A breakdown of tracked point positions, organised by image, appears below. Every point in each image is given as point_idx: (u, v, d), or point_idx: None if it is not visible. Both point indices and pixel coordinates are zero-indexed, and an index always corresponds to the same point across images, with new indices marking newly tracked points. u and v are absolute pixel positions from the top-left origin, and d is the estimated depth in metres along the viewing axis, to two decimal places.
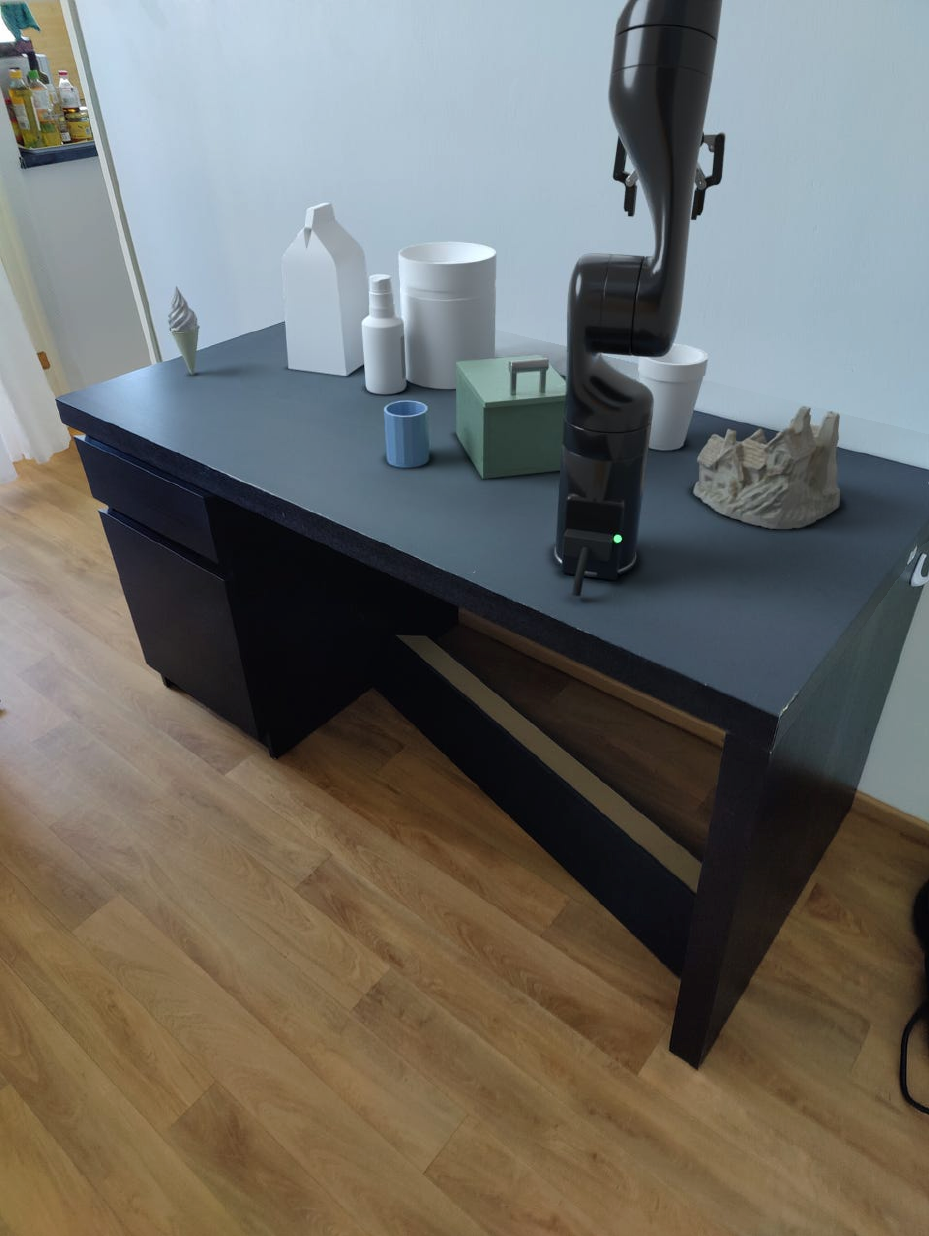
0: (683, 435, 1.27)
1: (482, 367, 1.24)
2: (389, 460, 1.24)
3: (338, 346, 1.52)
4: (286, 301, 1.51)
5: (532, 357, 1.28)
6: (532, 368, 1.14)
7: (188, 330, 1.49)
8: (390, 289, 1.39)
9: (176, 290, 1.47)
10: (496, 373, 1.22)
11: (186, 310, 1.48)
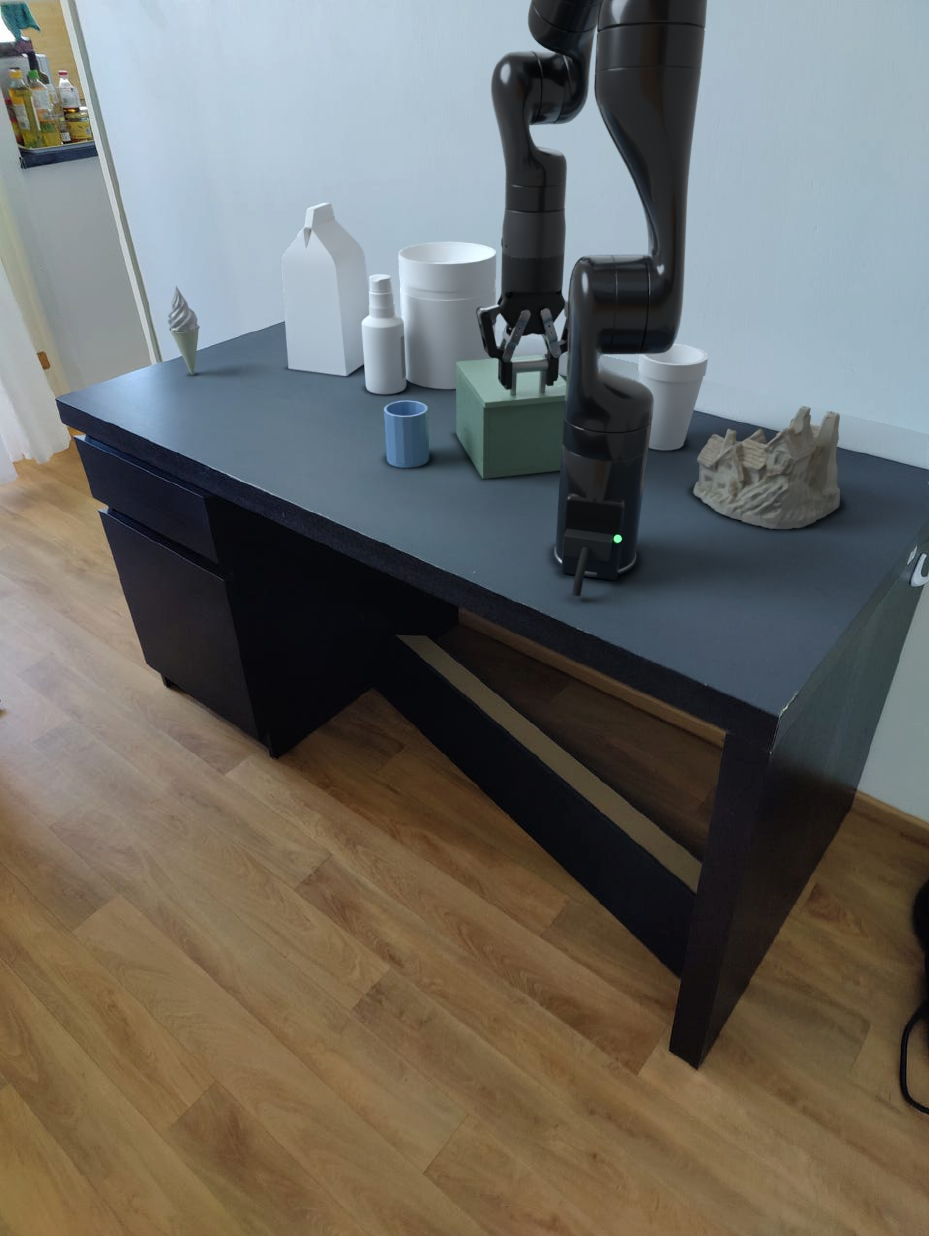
0: (683, 435, 1.27)
1: (482, 367, 1.24)
2: (389, 460, 1.24)
3: (338, 346, 1.52)
4: (286, 301, 1.51)
5: (532, 357, 1.28)
6: (532, 368, 1.14)
7: (188, 330, 1.49)
8: (390, 289, 1.39)
9: (176, 290, 1.47)
10: (496, 373, 1.22)
11: (186, 310, 1.48)
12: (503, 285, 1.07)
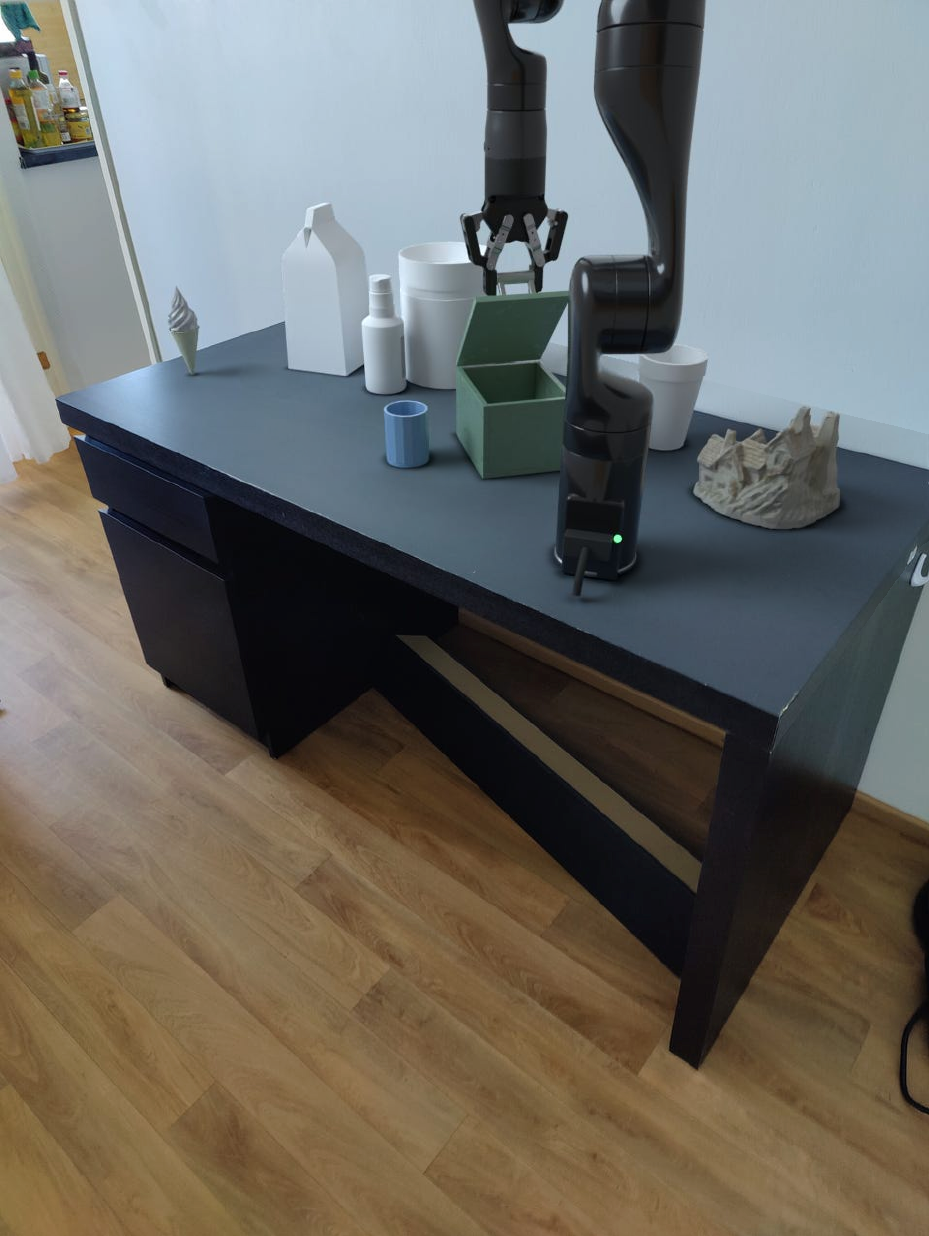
0: (683, 435, 1.27)
1: None
2: (389, 460, 1.24)
3: (338, 346, 1.52)
4: (286, 301, 1.51)
5: None
6: (518, 274, 1.14)
7: (188, 330, 1.49)
8: (390, 289, 1.39)
9: (176, 290, 1.47)
10: None
11: (186, 310, 1.48)
12: (486, 190, 1.09)
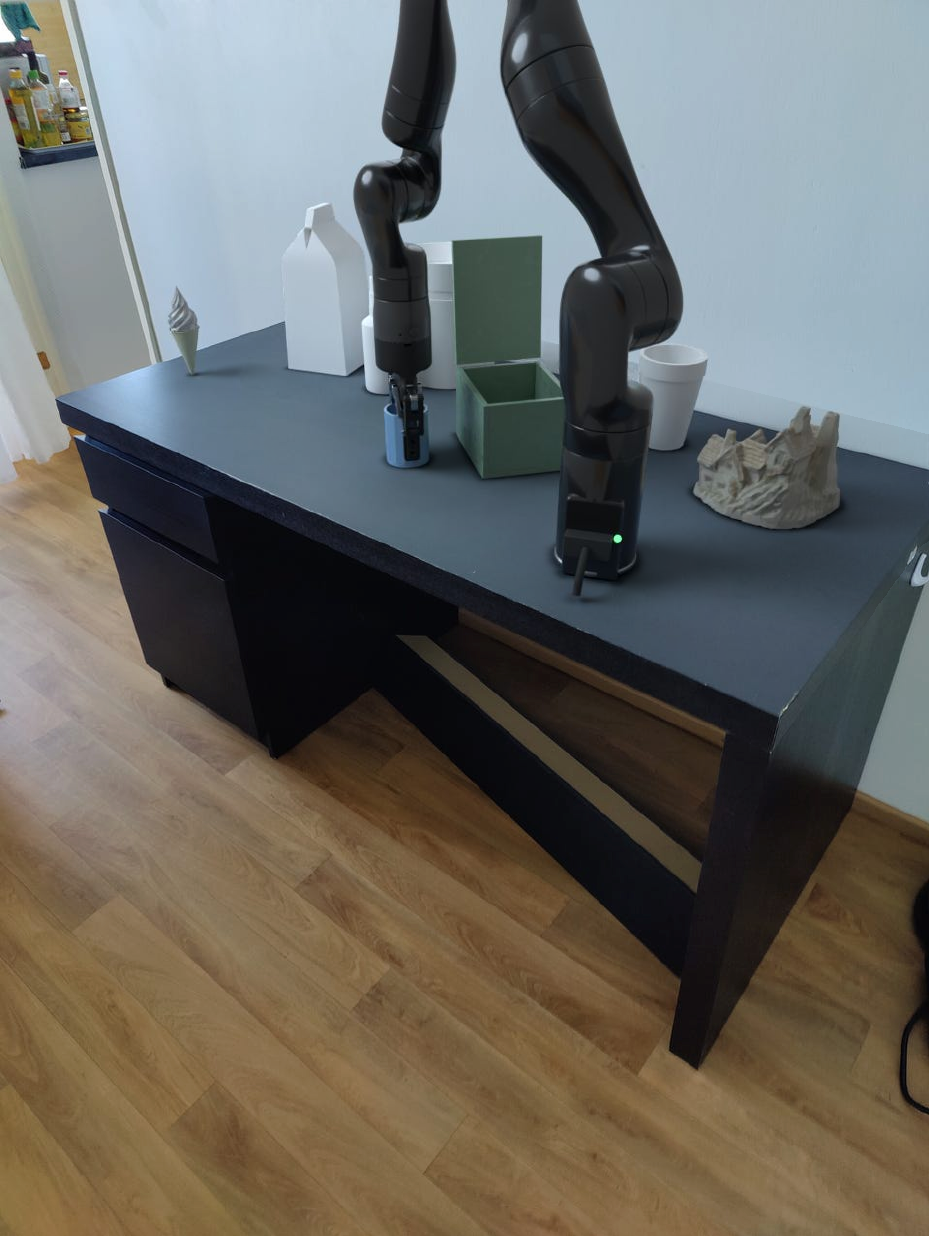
0: (683, 435, 1.27)
1: None
2: (389, 460, 1.24)
3: (338, 346, 1.52)
4: (286, 301, 1.51)
5: None
6: None
7: (188, 330, 1.49)
8: None
9: (176, 290, 1.47)
10: None
11: (186, 310, 1.48)
12: None
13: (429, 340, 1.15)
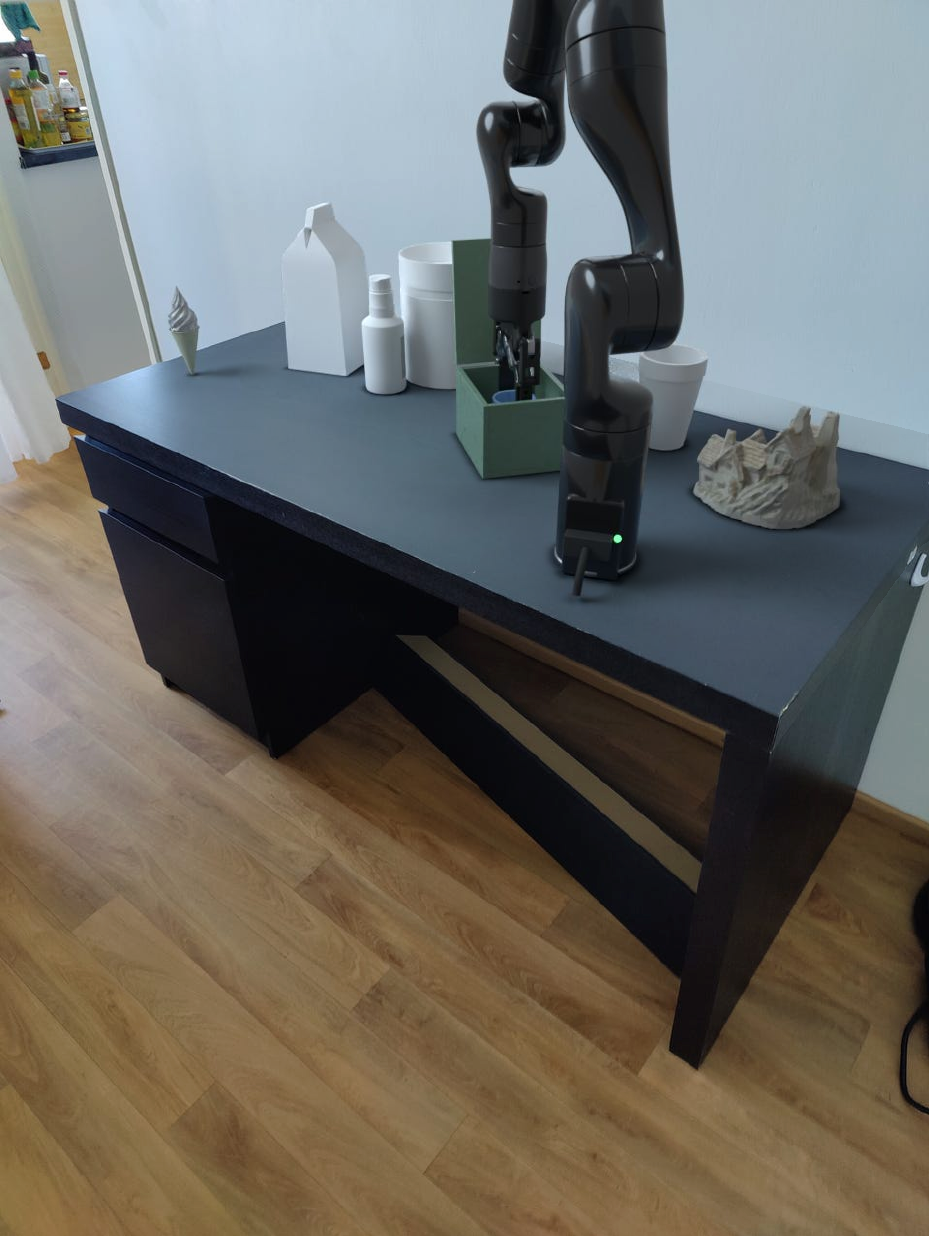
0: (683, 435, 1.27)
1: None
2: None
3: (338, 346, 1.52)
4: (286, 301, 1.51)
5: None
6: None
7: (188, 330, 1.49)
8: (390, 289, 1.39)
9: (176, 290, 1.47)
10: None
11: (186, 310, 1.48)
12: None
13: (545, 289, 1.13)
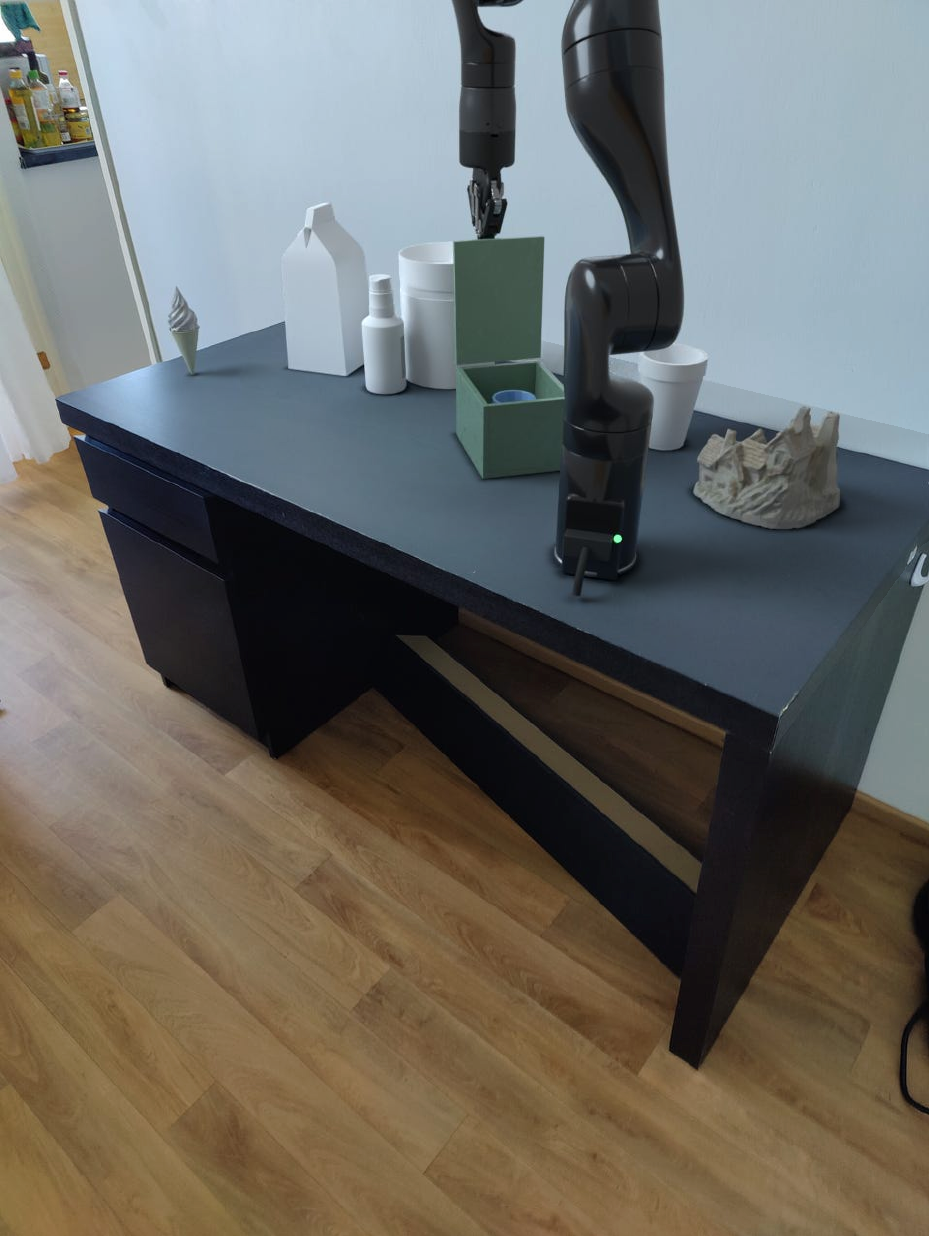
0: (683, 435, 1.27)
1: None
2: None
3: (338, 346, 1.52)
4: (286, 301, 1.51)
5: None
6: None
7: (188, 330, 1.49)
8: (390, 289, 1.39)
9: (176, 290, 1.47)
10: None
11: (186, 310, 1.48)
12: None
13: (514, 134, 1.17)
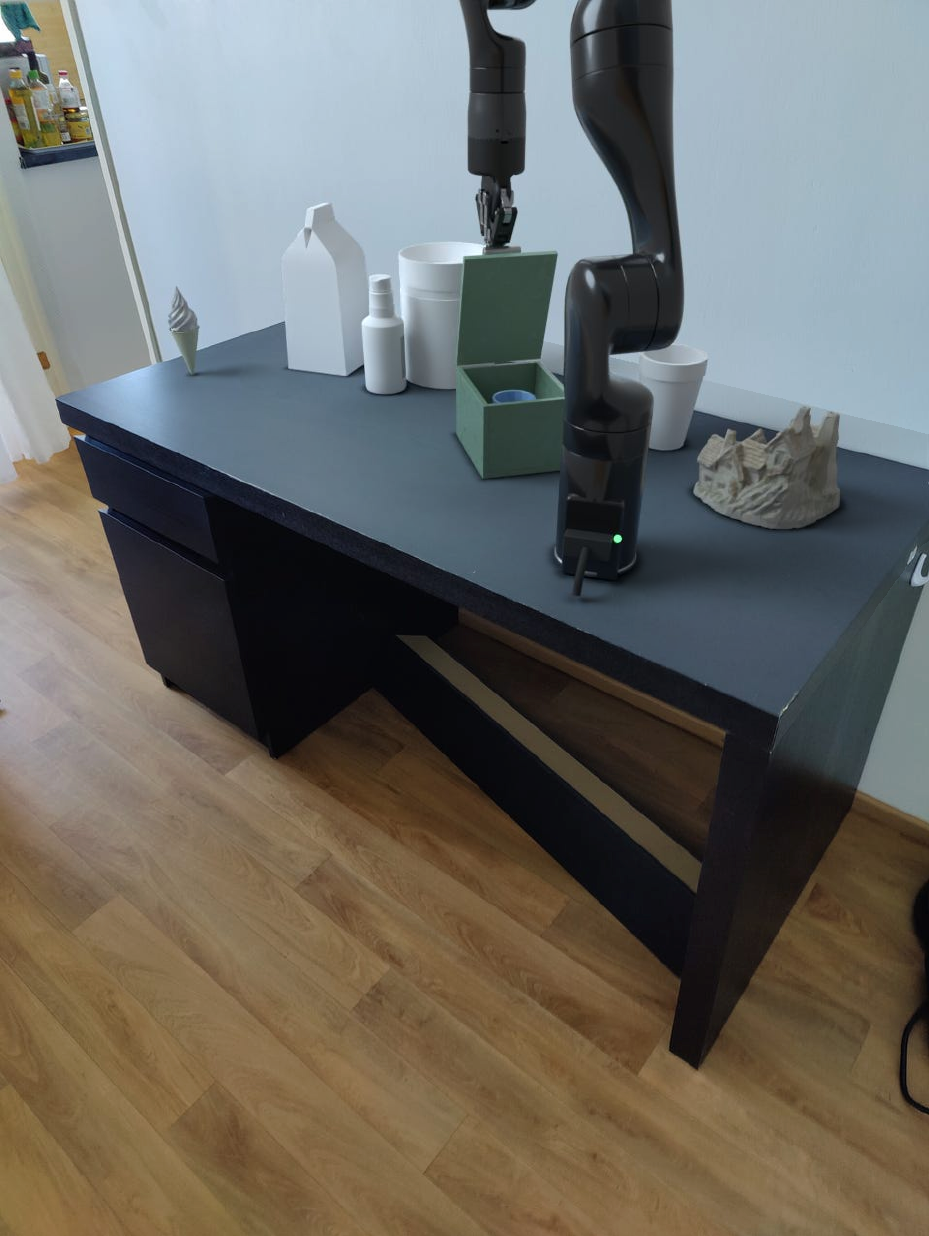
0: (683, 435, 1.27)
1: None
2: None
3: (338, 346, 1.52)
4: (286, 301, 1.51)
5: None
6: (504, 247, 1.18)
7: (188, 330, 1.49)
8: (390, 289, 1.39)
9: (176, 290, 1.47)
10: None
11: (186, 310, 1.48)
12: None
13: (524, 141, 1.13)
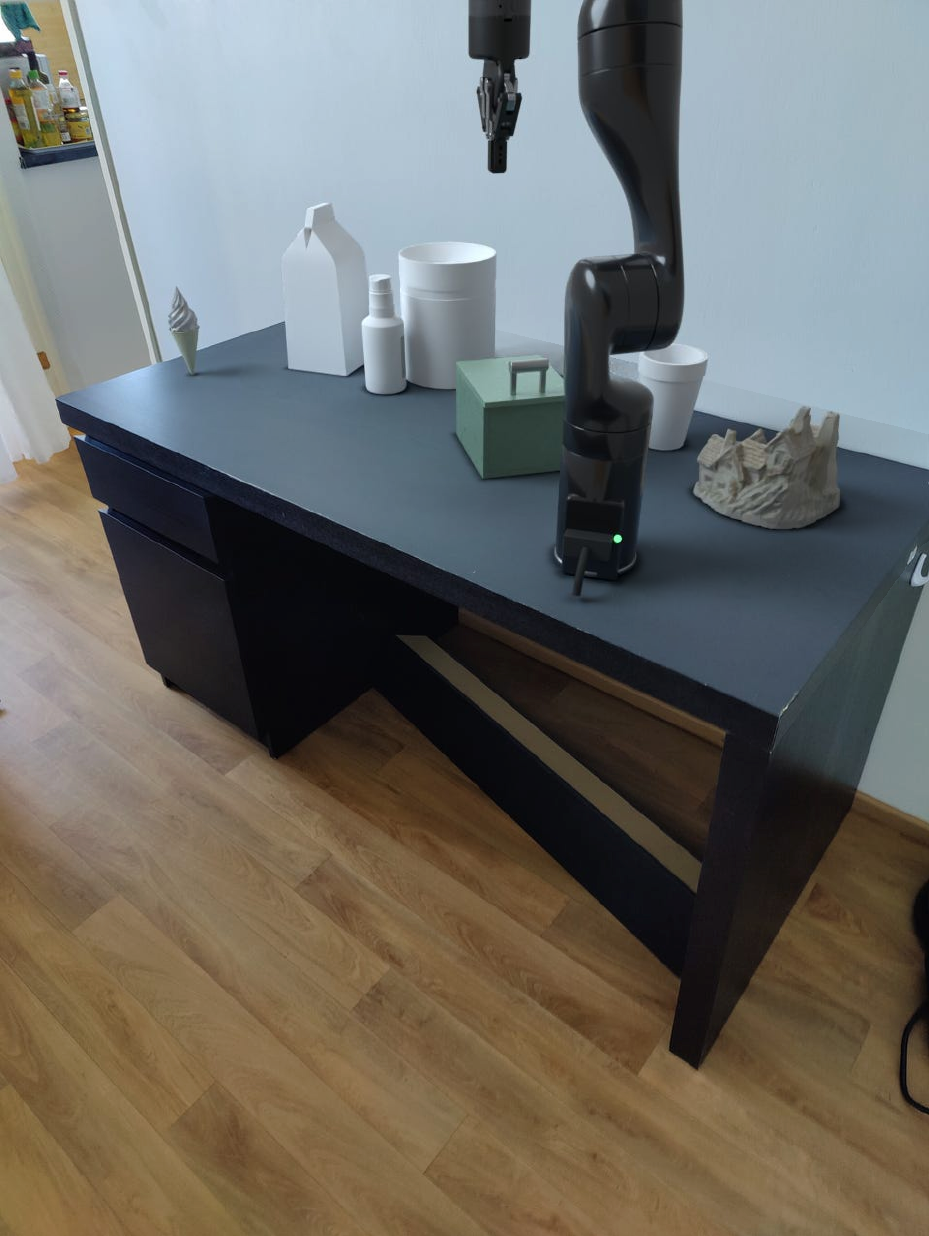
0: (683, 435, 1.27)
1: (482, 367, 1.24)
2: None
3: (338, 346, 1.52)
4: (286, 301, 1.51)
5: (532, 357, 1.28)
6: (532, 368, 1.14)
7: (188, 330, 1.49)
8: (390, 289, 1.39)
9: (176, 290, 1.47)
10: (496, 373, 1.22)
11: (186, 310, 1.48)
12: None
13: (529, 21, 1.06)
